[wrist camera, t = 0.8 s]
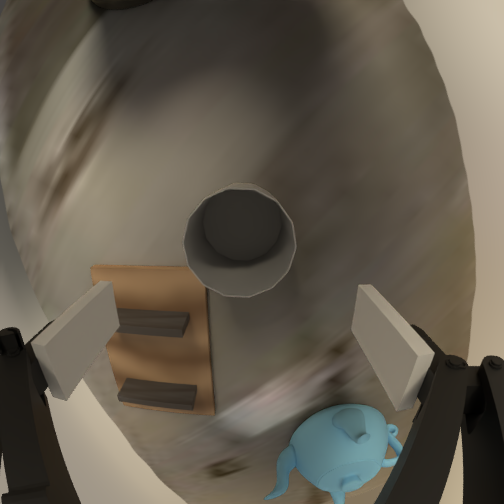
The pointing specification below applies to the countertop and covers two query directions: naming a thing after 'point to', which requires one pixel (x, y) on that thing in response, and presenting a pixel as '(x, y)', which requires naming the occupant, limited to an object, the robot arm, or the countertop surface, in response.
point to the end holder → (160, 338)
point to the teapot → (338, 450)
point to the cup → (239, 241)
